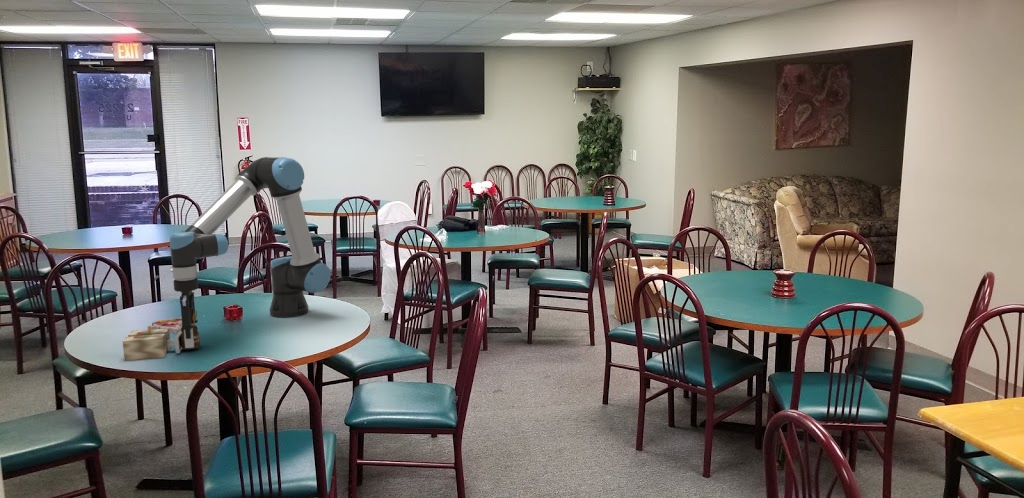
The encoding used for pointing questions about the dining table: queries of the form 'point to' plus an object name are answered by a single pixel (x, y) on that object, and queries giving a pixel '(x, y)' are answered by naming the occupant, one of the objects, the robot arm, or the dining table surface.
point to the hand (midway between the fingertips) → (191, 344)
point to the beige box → (146, 344)
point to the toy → (168, 325)
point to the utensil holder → (195, 334)
